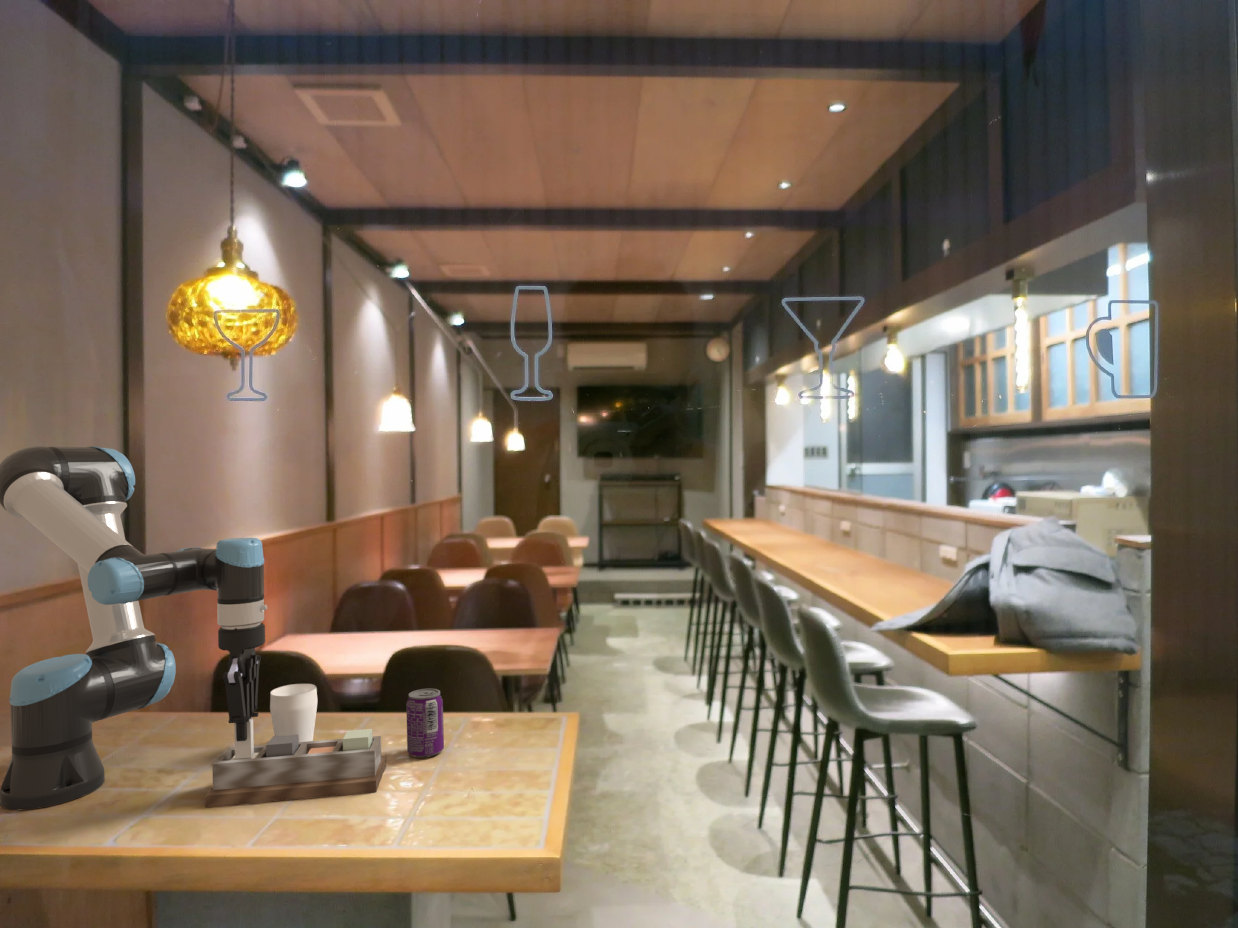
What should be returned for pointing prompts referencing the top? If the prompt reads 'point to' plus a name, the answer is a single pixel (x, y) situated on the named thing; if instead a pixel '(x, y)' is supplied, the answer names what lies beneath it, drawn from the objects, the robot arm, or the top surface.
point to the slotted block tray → (296, 774)
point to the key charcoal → (282, 745)
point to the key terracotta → (321, 750)
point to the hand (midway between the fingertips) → (244, 756)
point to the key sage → (357, 740)
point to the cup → (294, 710)
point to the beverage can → (425, 723)
